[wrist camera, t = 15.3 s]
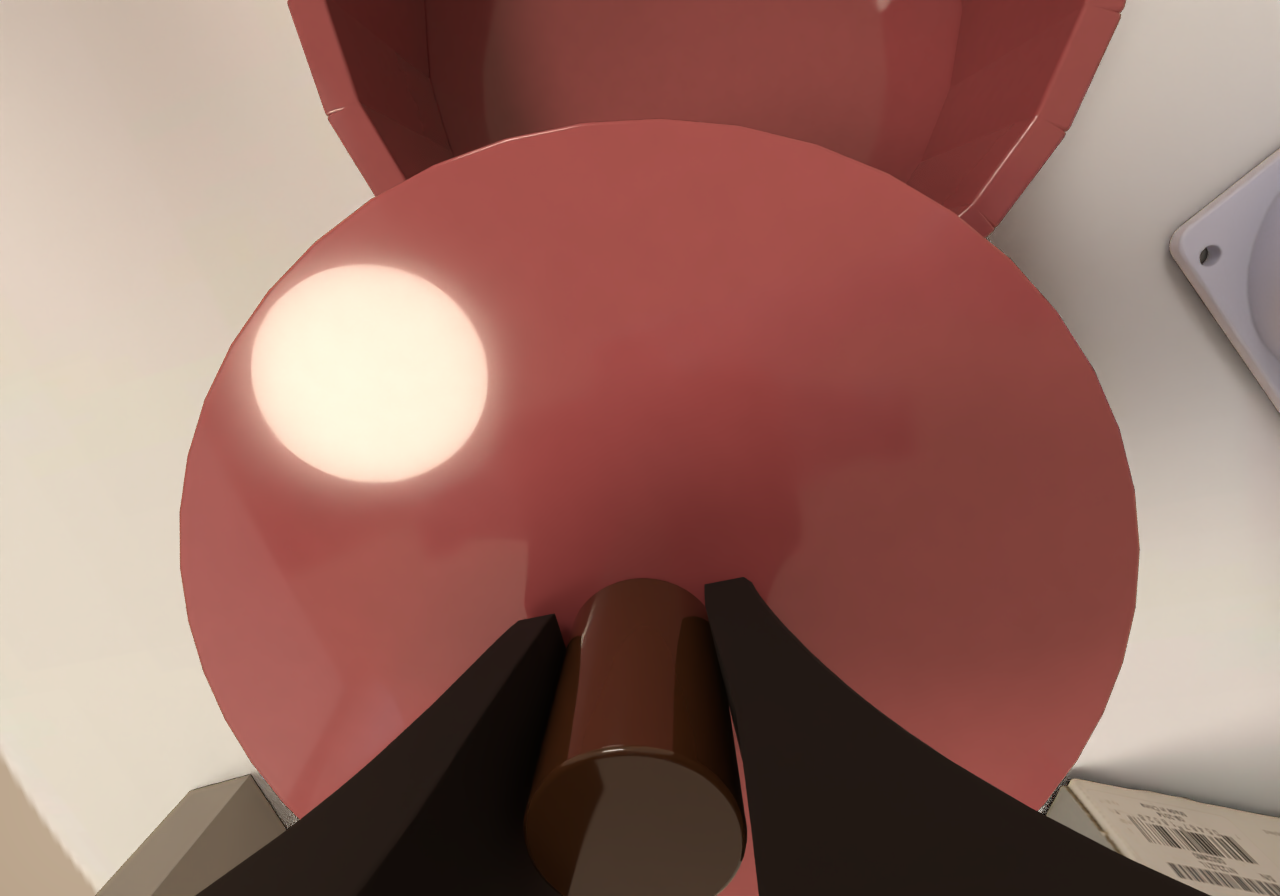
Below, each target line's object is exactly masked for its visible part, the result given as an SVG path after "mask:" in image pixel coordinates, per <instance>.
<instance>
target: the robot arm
mask: <svg viewBox="0 0 1280 896" xmlns="http://www.w3.org/2000/svg"><path fill="white" fill-rule="evenodd" d="M1205 248H1206V249H1207V251H1208V256H1207V259H1206V260H1205V262H1204V263H1203V264H1201V262H1200V259H1199V258H1200V255H1201V252H1202V251H1203V250H1204V249H1205ZM1169 250H1170V252H1171V255H1172V257H1173V258H1174V260H1175V261H1176V263H1177V264H1178V265H1179V267H1180V268H1181V270H1182V271H1183V273H1184V274H1185V276H1186V277H1187V279H1188V280H1189V282H1190V283H1191V284H1192V286H1193V287H1194V289H1195V290H1196V292H1197V293H1198V295H1199V296H1200V298H1201V299H1202V301H1203V302H1204V303H1205V305H1206V306H1207V308H1208V309H1209V311H1210V312H1211V314H1212V315H1213V317H1214V318H1215V320H1216V321H1217V323H1218V324H1219V325H1220V327H1221V328H1222V330H1223V331H1224V333H1225V334H1226V336H1227V337H1228V339H1229V340H1230V342H1231V343H1232V344H1233V346H1234V347H1235V349H1236V350H1237V352H1238V353H1239V355H1240V356H1241V358H1242V359H1243V361H1244V362H1245V363H1246V365H1247V366H1248V368H1249V369H1250V371H1251V372H1252V374H1253V375H1254V377H1255V378H1256V380H1257V381H1258V383H1259V384H1260V385H1261V387H1262V388H1263V390H1264V391H1265V393H1266V394H1267V396H1268V397H1269V399H1270V400H1271V402H1272V403H1273V404H1274V406H1275V407H1276V409H1277V410H1278V412H1279V413H1280V148H1279V149H1278V150H1277V151H1275V152H1274V153H1273V154H1271V155H1270V156H1269V157H1268V158H1266V159H1265V160H1264V161H1263V162H1261V163H1260V164H1259V165H1258V166H1256V167H1255V168H1254V169H1252V170H1251V171H1250V172H1249V173H1247V174H1246V175H1245V176H1244V177H1242V178H1241V179H1240V180H1239V181H1237V182H1236V183H1235V184H1233V185H1232V186H1231V187H1230V188H1228V189H1227V190H1226V191H1225V192H1223V193H1222V194H1221V195H1220V196H1218V197H1217V198H1216V199H1214V200H1213V201H1212V202H1211V203H1209V204H1208V205H1207V206H1206V207H1204V208H1203V209H1202V210H1200V211H1199V212H1198V213H1197V214H1195V215H1194V216H1193V217H1192V218H1190V219H1189V220H1188V221H1187V222H1185V223H1184V224H1183V225H1181V226H1180V227H1179V228H1178V229H1177V230H1176V231H1175V232H1174V233H1173V236H1172V238H1171V240H1170V246H1169ZM704 595H705V607H706V611H707V615H708V620H709V624H710V628H711V632H712V636H713V640H714V645H715V649H716V653H717V657H718V661H719V666H720V670H721V674H722V677H723V681H724V685H725V689H726V693H727V697H728V702H729V707H730V712H731V716H732V720H733V724H734V728H735V732H736V737H737V741H738V745H739V749H740V753H741V757H742V761H743V768H744V776H745V784H746V792H747V800H748V808H749V815H750V823H751V832H752V840H753V849H754V858H755V866H756V875H757V884H758V892H759V896H1211V895H1208V894H1206V893H1204V892H1202V891H1200V890H1197V889H1195V888H1193V887H1191V886H1189V885H1186V884H1184V883H1182V882H1180V881H1178V880H1175V879H1173V878H1171V877H1169V876H1167V875H1164V874H1162V873H1160V872H1158V871H1156V870H1153V869H1151V868H1149V867H1147V866H1145V865H1142V864H1140V863H1138V862H1136V861H1133V860H1131V859H1129V858H1127V857H1125V856H1123V855H1121V854H1119V853H1117V852H1115V851H1113V850H1111V849H1109V848H1107V847H1105V846H1103V845H1101V844H1099V843H1098V842H1096V841H1094V840H1092V839H1090V838H1088V837H1086V836H1084V835H1082V834H1080V833H1078V832H1076V831H1074V830H1072V829H1071V828H1069V827H1067V826H1065V825H1063V824H1061V823H1059V822H1057V821H1055V820H1053V819H1051V818H1049V817H1047V816H1045V815H1044V814H1042V813H1040V812H1038V811H1036V810H1034V809H1032V808H1030V807H1029V806H1027V805H1025V804H1024V803H1022V802H1020V801H1018V800H1017V799H1015V798H1013V797H1012V796H1010V795H1008V794H1007V793H1005V792H1003V791H1002V790H1000V789H998V788H997V787H995V786H993V785H991V784H990V783H988V782H986V781H985V780H983V779H981V778H980V777H978V776H976V775H975V774H973V773H971V772H969V771H968V770H966V769H964V768H963V767H961V766H959V765H958V764H956V763H954V762H953V761H951V760H949V759H948V758H946V757H945V756H943V755H942V754H940V753H939V752H937V751H936V750H935V749H933V748H932V747H930V746H929V745H927V744H926V743H924V742H923V741H921V740H920V739H918V738H917V737H915V736H914V735H912V734H911V733H909V732H908V731H907V730H905V729H904V728H902V727H901V726H900V725H898V724H897V723H896V722H894V721H893V720H892V719H890V718H889V717H887V716H886V715H885V714H883V713H882V712H881V711H879V710H878V709H877V708H875V707H874V706H873V705H872V704H870V703H869V702H868V701H866V700H865V699H864V698H863V697H862V696H860V695H859V694H858V693H857V692H855V691H854V690H853V689H852V688H851V687H849V686H848V685H847V684H846V683H845V682H844V681H842V680H841V679H840V678H839V677H838V676H837V675H836V674H834V673H833V672H832V671H831V670H830V669H829V668H828V667H826V666H825V665H824V664H823V663H822V662H821V661H820V660H819V659H818V658H817V657H816V656H815V655H814V654H812V653H811V652H810V651H809V650H808V649H807V648H806V647H805V645H804V644H803V643H802V642H801V641H800V640H799V639H798V638H797V637H796V636H795V635H794V634H793V633H792V632H791V631H790V630H789V629H788V628H787V627H786V626H785V625H784V624H783V623H782V622H781V621H780V619H779V618H778V617H777V616H776V615H775V614H774V612H773V611H772V610H771V609H770V608H769V606H768V605H767V604H766V603H765V601H764V600H763V599H762V597H761V596H760V595H759V593H758V592H757V590H756V589H755V587H754V585H753V583H752V582H751V581H749V580H748V579H746V578H745V577H740V578H735V579H730V580H724V581H719V582H714V583H709V584H704ZM565 652H566V647H565V644H564V640H563V637H562V634H561V631H560V628H559V625H558V622H557V619H556V616H555V613H554V614H549V615H544V616H539V617H534V618H529V619H523V620H518V621H517V622H516V623H515V624H514V625H512V626H511V627H510V628H509V629H508V630H507V631H506V632H504V633H503V634H502V635H501V636H500V637H499V638H498V639H497V640H496V641H495V642H494V643H493V644H492V645H491V646H490V647H489V648H488V649H487V650H486V651H485V652H484V653H483V654H482V655H481V656H480V657H479V658H478V659H477V660H476V661H475V662H474V663H473V664H472V665H471V666H470V667H469V668H468V669H467V670H466V671H465V672H464V673H463V674H462V675H461V676H460V677H459V678H458V679H457V680H456V681H455V682H454V683H453V684H452V685H451V686H450V687H449V688H448V689H447V690H446V691H445V692H444V693H443V694H442V695H441V696H440V697H439V698H438V699H437V700H436V701H435V702H434V703H433V704H432V705H431V706H430V707H429V708H428V709H427V710H426V711H425V712H424V713H422V714H421V715H420V716H419V717H418V718H417V719H416V720H415V721H414V722H413V723H412V724H411V725H410V726H408V727H407V728H406V729H405V730H404V731H403V732H402V733H401V734H400V735H399V736H398V737H397V738H395V739H394V740H393V741H392V742H391V743H390V744H389V745H388V746H387V747H386V748H385V749H384V750H383V751H381V752H380V753H379V754H378V755H377V756H376V757H375V758H374V759H373V760H372V761H370V762H369V763H368V764H367V765H366V766H365V767H364V768H362V769H361V770H360V771H359V772H358V773H357V774H355V775H354V776H353V777H352V778H351V779H349V780H348V781H347V782H346V783H345V784H344V785H342V786H341V787H340V788H339V789H338V790H336V791H335V792H334V793H333V794H331V795H330V796H329V797H328V798H326V799H325V800H324V801H323V802H321V803H320V804H319V805H318V806H316V807H315V808H314V809H313V810H311V811H310V812H309V813H308V814H306V815H305V816H304V817H303V818H301V819H300V820H299V821H298V822H296V823H295V824H294V825H292V826H291V827H290V828H288V829H287V830H286V831H284V832H283V833H282V834H281V835H279V836H278V837H276V838H275V839H274V840H272V841H271V842H269V843H268V844H267V845H265V846H264V847H262V848H261V849H260V850H258V851H257V852H255V853H254V854H253V855H251V856H250V857H248V858H247V859H246V860H244V861H243V862H241V863H240V864H239V865H237V866H236V867H234V868H233V869H232V870H230V871H229V872H227V873H226V874H225V875H223V876H222V877H220V878H219V879H218V880H216V881H215V882H213V883H212V884H211V885H209V886H208V887H206V888H205V889H204V890H202V891H201V892H199V893H198V894H197V895H195V896H561V895H559V894H558V893H557V892H556V891H554V890H553V889H552V888H551V887H550V886H549V885H548V884H547V883H546V882H545V881H544V880H543V879H542V877H541V876H540V875H539V873H538V872H537V870H536V869H535V867H534V866H533V864H532V862H531V860H530V857H529V855H528V852H527V848H526V845H525V840H524V832H523V819H524V813H525V809H526V804H527V801H528V797H529V793H530V789H531V785H532V781H533V777H534V773H535V769H536V765H537V762H538V758H539V754H540V750H541V746H542V742H543V738H544V734H545V730H546V726H547V722H548V719H549V715H550V711H551V707H552V703H553V699H554V695H555V691H556V687H557V683H558V679H559V676H560V672H561V668H562V664H563V660H564V656H565Z"/></svg>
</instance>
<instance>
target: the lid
mask: <svg viewBox="0 0 1280 896" xmlns="http://www.w3.org/2000/svg"><path fill="white" fill-rule="evenodd" d="M1139 553H1140V547H1139V535H1138V523H1137V511H1136V500H1135V489H1134V485H1133V481H1132V477H1131V473H1130V469H1129V465H1128V461H1127V457H1126V453H1125V449H1124V445H1123V441H1122V437H1121V433H1120V429H1119V427H1118V424H1117V422H1116V420H1115V417H1114V415H1113V413H1112V410H1111V408H1110V406H1109V403H1108V401H1107V399H1106V396H1105V394H1104V392H1103V390H1102V387H1101V385H1100V383H1099V380H1098V378H1097V376H1096V373H1095V371H1094V369H1093V367H1092V366H1091V364H1090V363H1089V361H1088V359H1087V358H1086V356H1085V355H1084V353H1083V352H1082V350H1081V348H1080V347H1079V345H1078V344H1077V342H1076V341H1075V339H1074V337H1073V336H1072V334H1071V333H1070V331H1069V330H1068V328H1067V326H1066V325H1065V323H1064V322H1063V320H1062V319H1061V317H1060V315H1059V314H1058V312H1057V311H1056V310H1055V309H1054V308H1053V306H1052V305H1051V304H1050V303H1049V302H1048V301H1047V300H1046V299H1045V297H1044V296H1043V295H1042V294H1041V293H1040V292H1039V291H1038V290H1037V288H1036V287H1035V286H1034V285H1033V284H1032V283H1031V282H1030V280H1029V279H1028V278H1027V277H1026V276H1025V275H1024V274H1023V273H1022V271H1021V270H1020V269H1019V268H1018V267H1017V266H1016V265H1015V264H1014V262H1013V261H1012V260H1011V259H1010V258H1009V257H1008V256H1006V255H1005V254H1004V253H1003V252H1002V251H1000V250H999V249H998V248H997V247H996V246H994V245H993V244H992V243H991V242H989V241H988V240H987V239H986V238H985V237H983V236H982V235H981V234H980V233H979V232H977V231H976V230H975V229H974V228H972V227H971V226H970V225H969V224H968V223H966V222H965V221H964V220H963V219H962V218H960V217H959V216H958V215H957V214H955V213H954V212H953V211H951V210H950V209H948V208H946V207H945V206H943V205H941V204H939V203H938V202H936V201H934V200H933V199H931V198H929V197H928V196H926V195H924V194H923V193H921V192H919V191H918V190H916V189H914V188H913V187H911V186H909V185H907V184H906V183H904V182H902V181H901V180H899V179H897V178H896V177H894V176H892V175H891V174H889V173H887V172H884V171H882V170H879V169H877V168H875V167H872V166H870V165H867V164H865V163H862V162H860V161H857V160H855V159H852V158H850V157H847V156H845V155H843V154H840V153H838V152H835V151H833V150H830V149H828V148H825V147H823V146H820V145H818V144H815V143H811V142H807V141H803V140H798V139H794V138H790V137H786V136H782V135H778V134H774V133H769V132H765V131H761V130H757V129H753V128H749V127H745V126H741V125H731V124H720V123H709V122H698V121H687V120H676V119H665V118H653V119H635V120H617V121H599V122H582V123H577V124H572V125H567V126H562V127H557V128H552V129H548V130H543V131H538V132H533V133H528V134H523V135H518V136H514V137H509V138H505V139H502V140H499V141H497V142H494V143H491V144H488V145H486V146H483V147H480V148H477V149H475V150H472V151H469V152H466V153H464V154H461V155H458V156H456V157H453V158H450V159H447V160H445V161H442V162H439V163H436V164H434V165H432V166H430V167H429V168H427V169H425V170H423V171H421V172H420V173H418V174H416V175H414V176H412V177H410V178H409V179H407V180H405V181H403V182H401V183H399V184H398V185H396V186H394V187H392V188H390V189H389V190H387V191H385V192H383V193H381V194H379V195H378V196H376V197H374V198H372V199H370V200H369V201H368V202H367V203H365V204H364V205H363V206H361V207H360V208H359V209H357V210H356V211H355V212H354V213H352V214H351V215H350V216H348V217H347V218H346V219H344V220H343V221H342V222H340V223H339V224H338V225H337V226H335V227H334V228H333V229H331V230H330V231H329V232H327V233H326V234H325V235H323V236H322V237H321V238H320V239H318V240H317V241H316V242H315V243H314V244H313V245H312V246H311V247H310V248H309V249H308V250H307V251H306V252H305V253H304V254H303V255H302V256H301V257H300V258H299V259H298V260H297V261H296V263H295V264H294V265H293V266H292V267H291V268H290V269H289V270H288V271H287V272H286V273H285V274H284V275H283V276H282V277H281V278H280V279H279V280H278V281H277V282H276V283H275V285H274V286H273V287H272V288H271V289H270V290H269V291H268V292H267V294H266V295H265V297H264V298H263V299H262V301H261V302H260V304H259V305H258V307H257V308H256V310H255V311H254V312H253V314H252V315H251V317H250V318H249V320H248V321H247V322H246V324H245V325H244V327H243V328H242V330H241V331H240V333H239V334H238V335H237V337H236V338H235V340H234V341H233V343H232V344H231V346H230V348H229V350H228V352H227V354H226V357H225V359H224V361H223V363H222V365H221V367H220V369H219V371H218V373H217V375H216V377H215V379H214V381H213V384H212V386H211V388H210V390H209V392H208V394H207V396H206V398H205V400H204V404H203V407H202V410H201V414H200V417H199V420H198V424H197V427H196V430H195V433H194V437H193V440H192V443H191V447H190V450H189V453H188V457H187V464H186V471H185V478H184V485H183V493H182V500H181V507H180V570H181V577H182V583H183V589H184V596H185V602H186V609H187V615H188V622H189V625H190V628H191V632H192V635H193V638H194V642H195V645H196V648H197V652H198V655H199V658H200V662H201V665H202V668H203V672H204V674H205V676H206V678H207V681H208V683H209V685H210V687H211V689H212V692H213V694H214V696H215V698H216V701H217V703H218V705H219V707H220V709H221V712H222V714H223V716H224V718H225V720H226V722H227V723H228V725H229V727H230V728H231V730H232V732H233V733H234V735H235V737H236V738H237V740H238V741H239V743H240V745H241V746H242V748H243V750H244V751H245V753H246V755H247V756H248V758H249V759H250V761H251V763H252V764H253V765H254V767H255V768H256V769H257V770H258V772H259V773H260V774H261V776H262V777H263V778H264V779H265V781H266V782H267V783H268V784H269V786H270V787H271V788H272V789H273V791H274V792H275V793H276V795H277V796H278V797H279V798H280V800H281V801H282V802H283V803H284V804H285V805H286V806H287V807H288V808H289V809H290V810H291V811H292V812H293V813H294V814H295V815H296V817H297V818H298V819H299V820H300V819H301V818H303V817H304V816H305V815H306V814H308V813H309V812H310V811H311V810H313V809H314V808H315V807H316V806H318V805H319V804H320V803H321V802H323V801H324V800H325V799H326V798H328V797H329V796H330V795H331V794H333V793H334V792H335V791H336V790H338V789H339V788H340V787H341V786H342V785H344V784H345V783H346V782H347V781H348V780H349V779H351V778H352V777H353V776H354V775H355V774H357V773H358V772H359V771H360V770H361V769H362V768H364V767H365V766H366V765H367V764H368V763H369V762H370V761H372V760H373V759H374V758H375V757H376V756H377V755H378V754H379V753H380V752H381V751H383V750H384V749H385V748H386V747H387V746H388V745H389V744H390V743H391V742H392V741H393V740H394V739H395V738H397V737H398V736H399V735H400V734H401V733H402V732H403V731H404V730H405V729H406V728H407V727H408V726H410V725H411V724H412V723H413V722H414V721H415V720H416V719H417V718H418V717H419V716H420V715H421V714H422V713H424V712H425V711H426V710H427V709H428V708H429V707H430V706H431V705H432V704H433V703H434V702H435V701H436V700H437V699H438V698H439V697H440V696H441V695H442V694H443V693H444V692H445V691H446V690H447V689H448V688H449V687H450V686H451V685H452V684H453V683H454V682H455V681H456V680H457V679H458V678H459V677H460V676H461V675H462V674H463V673H464V672H465V671H466V670H467V669H468V668H469V667H470V666H471V665H472V664H473V663H474V662H475V661H476V660H477V659H478V658H479V657H480V656H481V655H482V654H483V653H484V652H485V651H486V650H487V649H488V648H489V647H490V646H491V645H492V644H493V643H494V642H495V641H496V640H497V639H498V638H499V637H500V636H501V635H502V634H503V633H504V632H506V631H507V630H508V629H509V628H510V627H511V626H512V625H514V624H515V623H516V622H517V621H518V620H523V619H529V618H534V617H539V616H544V615H549V614H554V613H555V616H556V619H557V622H558V625H559V628H560V631H561V634H562V637H563V640H564V644H565V647H566V652H565V656H564V660H563V664H562V668H561V672H560V676H559V679H558V683H557V687H556V691H555V695H554V699H553V703H552V707H551V711H550V715H549V719H548V722H547V726H546V730H545V734H544V738H543V742H542V746H541V750H540V754H539V758H538V762H537V765H536V769H535V773H534V777H533V781H532V785H531V789H530V793H529V797H528V801H527V804H526V809H525V813H524V819H523V832H524V840H525V845H526V848H527V852H528V855H529V857H530V860H531V862H532V864H533V866H534V867H535V869H536V870H537V872H538V873H539V875H540V876H541V877H542V879H543V880H544V881H545V882H546V883H547V884H548V885H549V886H550V887H551V888H552V889H553V890H554V891H556V892H557V893H558V894H559V895H561V896H759V892H758V884H757V875H756V866H755V858H754V849H753V840H752V832H751V823H750V815H749V808H748V800H747V792H746V784H745V776H744V768H743V761H742V757H741V753H740V749H739V745H738V741H737V737H736V732H735V728H734V724H733V720H732V716H731V712H730V707H729V702H728V697H727V693H726V689H725V685H724V681H723V677H722V674H721V670H720V666H719V661H718V657H717V653H716V649H715V645H714V640H713V636H712V632H711V628H710V624H709V620H708V615H707V611H706V607H705V595H704V584H709V583H714V582H719V581H724V580H730V579H735V578H740V577H745V578H746V579H748V580H749V581H751V582H752V583H753V585H754V587H755V589H756V590H757V592H758V593H759V595H760V596H761V597H762V599H763V600H764V601H765V603H766V604H767V605H768V606H769V608H770V609H771V610H772V611H773V612H774V614H775V615H776V616H777V617H778V618H779V619H780V621H781V622H782V623H783V624H784V625H785V626H786V627H787V628H788V629H789V630H790V631H791V632H792V633H793V634H794V635H795V636H796V637H797V638H798V639H799V640H800V641H801V642H802V643H803V644H804V645H805V647H806V648H807V649H808V650H809V651H810V652H811V653H812V654H814V655H815V656H816V657H817V658H818V659H819V660H820V661H821V662H822V663H823V664H824V665H825V666H826V667H828V668H829V669H830V670H831V671H832V672H833V673H834V674H836V675H837V676H838V677H839V678H840V679H841V680H842V681H844V682H845V683H846V684H847V685H848V686H849V687H851V688H852V689H853V690H854V691H855V692H857V693H858V694H859V695H860V696H862V697H863V698H864V699H865V700H866V701H868V702H869V703H870V704H872V705H873V706H874V707H875V708H877V709H878V710H879V711H881V712H882V713H883V714H885V715H886V716H887V717H889V718H890V719H892V720H893V721H894V722H896V723H897V724H898V725H900V726H901V727H902V728H904V729H905V730H907V731H908V732H909V733H911V734H912V735H914V736H915V737H917V738H918V739H920V740H921V741H923V742H924V743H926V744H927V745H929V746H930V747H932V748H933V749H935V750H936V751H937V752H939V753H940V754H942V755H943V756H945V757H946V758H948V759H949V760H951V761H953V762H954V763H956V764H958V765H959V766H961V767H963V768H964V769H966V770H968V771H969V772H971V773H973V774H975V775H976V776H978V777H980V778H981V779H983V780H985V781H986V782H988V783H990V784H991V785H993V786H995V787H997V788H998V789H1000V790H1002V791H1003V792H1005V793H1007V794H1008V795H1010V796H1012V797H1013V798H1015V799H1017V800H1018V801H1020V802H1022V803H1024V804H1025V805H1027V806H1029V807H1030V808H1032V809H1034V810H1036V811H1038V810H1039V809H1040V808H1041V807H1042V806H1043V805H1044V804H1045V803H1046V802H1047V800H1048V799H1049V798H1050V796H1051V795H1052V794H1053V792H1054V791H1055V790H1056V788H1057V787H1058V786H1059V784H1060V783H1061V782H1062V780H1063V779H1064V778H1065V776H1066V775H1067V774H1068V772H1069V771H1070V769H1071V768H1072V767H1073V765H1074V764H1075V763H1076V761H1077V760H1078V758H1079V756H1080V754H1081V753H1082V751H1083V749H1084V747H1085V745H1086V744H1087V742H1088V740H1089V738H1090V736H1091V735H1092V733H1093V731H1094V729H1095V728H1096V726H1097V724H1098V722H1099V720H1100V719H1101V717H1102V715H1103V713H1104V710H1105V708H1106V705H1107V703H1108V700H1109V697H1110V695H1111V692H1112V690H1113V687H1114V684H1115V682H1116V679H1117V677H1118V674H1119V672H1120V669H1121V666H1122V664H1123V660H1124V656H1125V652H1126V647H1127V643H1128V638H1129V634H1130V630H1131V625H1132V621H1133V617H1134V612H1135V608H1136V595H1137V581H1138V567H1139Z"/></svg>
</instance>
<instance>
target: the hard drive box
mask: <svg viewBox="0 0 1280 896" xmlns="http://www.w3.org/2000/svg"><path fill="white" fill-rule="evenodd" d="M1046 816H1047V817H1049V818H1051V819H1053V820H1055V821H1057V822H1059V823H1061V824H1063V825H1065V826H1067V827H1069V828H1071V829H1072V830H1074V831H1076V832H1078V833H1080V834H1082V835H1084V836H1086V837H1088V838H1090V839H1092V840H1094V841H1096V842H1098V843H1099V844H1101V845H1103V846H1105V847H1107V848H1109V849H1111V850H1113V851H1115V852H1117V853H1119V854H1121V855H1123V856H1125V857H1127V858H1129V859H1131V860H1133V861H1136V862H1138V863H1140V864H1142V865H1145V866H1147V867H1149V868H1151V869H1153V870H1156V871H1158V872H1160V873H1162V874H1164V875H1167V876H1169V877H1171V878H1173V879H1175V880H1178V881H1180V882H1182V883H1184V884H1186V885H1189V886H1191V887H1193V888H1195V889H1197V890H1200V891H1202V892H1204V893H1206V894H1208V895H1211V896H1280V818H1277V817H1272V816H1267V815H1261V814H1255V813H1250V812H1245V811H1240V810H1235V809H1231V808H1226V807H1221V806H1216V805H1211V804H1204V803H1200V802H1196V801H1193V800H1190V799H1187V798H1184V797H1176V796H1169V795H1164V794H1160V793H1156V792H1151V791H1145V790H1132V789H1126V788H1122V787H1117V786H1112V785H1107V784H1100V783H1096V782H1092V781H1087V780H1081V779H1076V778H1075V779H1072V780H1070V783H1069V785H1068V786H1061V787H1060V789H1059V792H1058V794H1057V796H1056V798H1055V800H1054V801H1053V803H1052V805H1051V806H1050V808H1049V810H1048V812H1047V814H1046Z"/></svg>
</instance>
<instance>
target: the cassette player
mask: <svg viewBox="0 0 1280 896" xmlns="http://www.w3.org/2000/svg"><path fill="white" fill-rule="evenodd" d="M284 831H286V829H285V827H284V826H283V824H282V823H281V821H280V819H279V818H278V816H277V815H276V813H275V812H274V810H273V809H272V807H271V806H270V804H269V803H268V801H267V800H266V798H265V797H264V795H263V793H262V792H261V790H260V789H259V787H258V786H257V784H256V783H255V781H254V780H253V778H252V777H251V775H247V776H243V777H239V778H236V779H232V780H228V781H225V782H221V783H217V784H214V785H210V786H206V787H202V788H199V789H195V790H191V791H189V792H188V794H187V795H186V796H185V797H184V798H183V799H182V800H181V801H180V802H179V804H178V805H177V806H176V807H175V808H174V809H173V810H172V811H171V812H170V813H169V815H168V816H167V817H166V818H165V819H164V820H163V821H162V822H161V823H160V824H159V826H158V827H157V828H156V829H155V830H154V831H153V832H152V833H151V834H150V836H149V837H148V838H147V839H146V840H145V841H144V842H143V843H142V844H141V845H140V847H139V848H138V849H137V850H136V851H135V852H134V853H133V854H132V855H131V856H130V858H129V859H128V860H127V861H126V862H125V863H124V864H123V865H122V866H121V868H120V869H119V870H118V871H117V872H116V873H115V874H114V875H113V876H112V877H111V879H110V880H109V881H108V882H107V883H106V884H105V885H104V886H103V887H102V888H101V890H100V891H99V892H98V893H97V894H96V895H95V896H195V895H197V894H198V893H199V892H201V891H202V890H204V889H205V888H206V887H208V886H209V885H211V884H212V883H213V882H215V881H216V880H218V879H219V878H220V877H222V876H223V875H225V874H226V873H227V872H229V871H230V870H232V869H233V868H234V867H236V866H237V865H239V864H240V863H241V862H243V861H244V860H246V859H247V858H248V857H250V856H251V855H253V854H254V853H255V852H257V851H258V850H260V849H261V848H262V847H264V846H265V845H267V844H268V843H269V842H271V841H272V840H274V839H275V838H276V837H278V836H279V835H281V834H282V833H283V832H284Z"/></svg>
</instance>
